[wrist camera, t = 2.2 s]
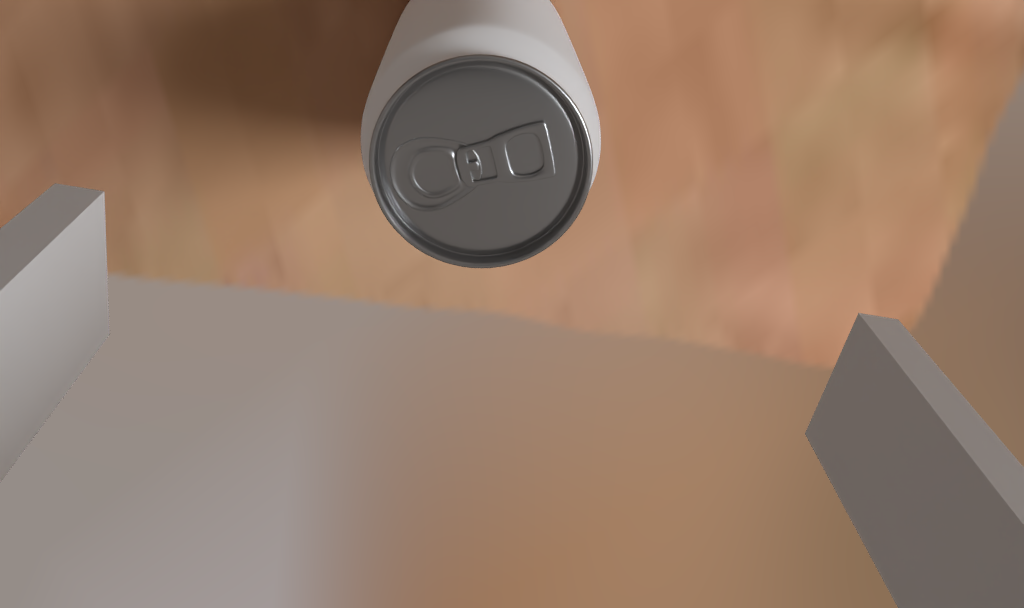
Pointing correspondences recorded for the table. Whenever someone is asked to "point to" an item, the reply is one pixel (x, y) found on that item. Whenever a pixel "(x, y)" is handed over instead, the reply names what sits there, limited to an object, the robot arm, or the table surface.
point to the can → (480, 130)
